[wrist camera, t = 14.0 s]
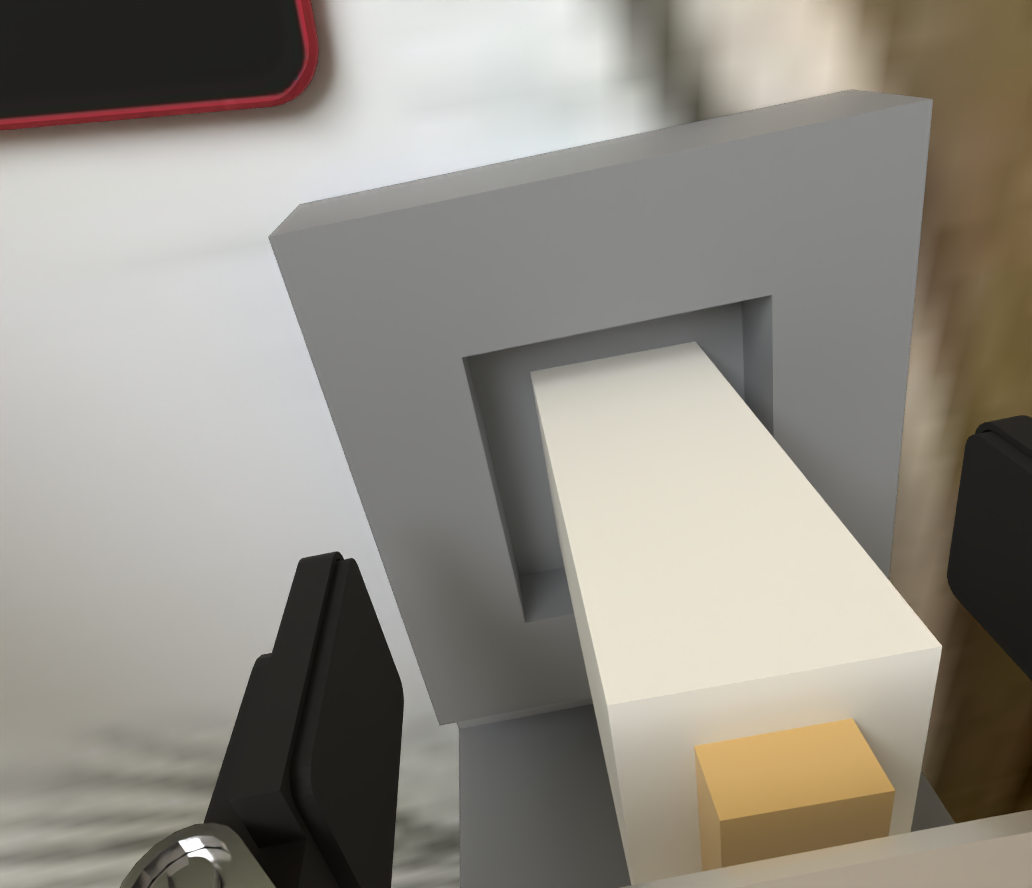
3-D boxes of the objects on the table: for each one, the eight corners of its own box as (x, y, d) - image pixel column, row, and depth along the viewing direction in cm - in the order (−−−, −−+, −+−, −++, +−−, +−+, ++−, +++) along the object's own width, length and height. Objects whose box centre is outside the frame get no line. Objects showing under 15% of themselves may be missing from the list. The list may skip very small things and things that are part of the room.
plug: (530, 371, 14) (625, 779, 6) (695, 341, 14) (997, 714, 6) (558, 537, 16) (656, 1004, 8) (703, 512, 16) (939, 957, 8)
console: (299, 204, 13) (120, 390, 6) (850, 89, 13) (1330, 145, 6) (529, 918, 25) (559, 1262, 18) (820, 865, 24) (965, 1193, 18)
